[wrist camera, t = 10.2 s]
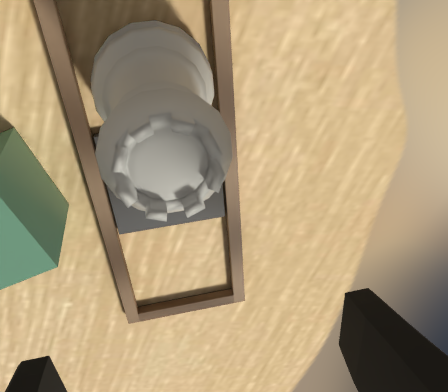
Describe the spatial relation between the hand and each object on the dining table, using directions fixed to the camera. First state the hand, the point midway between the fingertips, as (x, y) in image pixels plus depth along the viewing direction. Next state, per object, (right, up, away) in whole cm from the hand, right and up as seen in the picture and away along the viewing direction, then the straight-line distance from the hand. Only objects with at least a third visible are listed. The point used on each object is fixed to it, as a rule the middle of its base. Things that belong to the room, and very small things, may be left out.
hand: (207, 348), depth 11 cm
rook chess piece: (-2, +8, +6) cm, 10 cm away
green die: (-9, +4, +7) cm, 12 cm away
